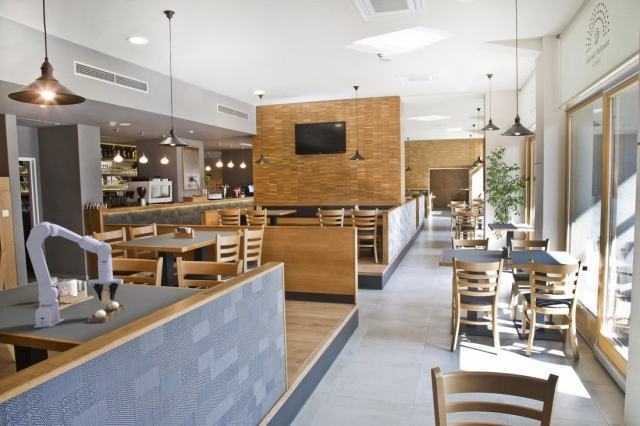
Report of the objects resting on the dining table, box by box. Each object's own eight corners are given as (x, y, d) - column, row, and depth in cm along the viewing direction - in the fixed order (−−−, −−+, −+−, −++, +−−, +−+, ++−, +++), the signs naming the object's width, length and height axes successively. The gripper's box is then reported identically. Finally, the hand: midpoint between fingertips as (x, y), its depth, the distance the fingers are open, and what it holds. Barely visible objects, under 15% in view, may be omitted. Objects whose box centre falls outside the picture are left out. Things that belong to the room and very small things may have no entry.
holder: (105, 323, 190) (105, 317, 190) (87, 324, 190) (87, 318, 189) (125, 309, 211) (125, 304, 211) (109, 310, 211) (109, 304, 211)
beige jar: (110, 304, 198) (109, 289, 197) (100, 305, 198) (99, 289, 197) (114, 302, 202) (113, 287, 202) (104, 302, 202) (103, 287, 202)
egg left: (103, 321, 191) (103, 311, 191) (93, 321, 191) (92, 311, 191) (108, 318, 196) (107, 308, 195) (98, 318, 196) (97, 308, 195)
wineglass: (56, 298, 235) (54, 276, 235) (61, 300, 231) (59, 277, 230) (41, 301, 230) (40, 278, 229) (46, 303, 226) (45, 280, 225)
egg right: (116, 312, 205) (116, 302, 205) (107, 312, 205) (106, 303, 204) (120, 309, 209) (120, 300, 209) (111, 309, 209) (110, 300, 209)
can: (71, 304, 223) (70, 280, 223) (60, 303, 225) (59, 280, 224) (80, 300, 230) (79, 278, 229) (70, 300, 231) (68, 277, 230)
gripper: (125, 268, 203) (126, 297, 204) (93, 269, 203) (94, 298, 203) (118, 271, 196) (120, 301, 197) (85, 272, 196) (87, 302, 196)
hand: (106, 300), depth 200 cm, fingers closed on beige jar, 4 cm apart
